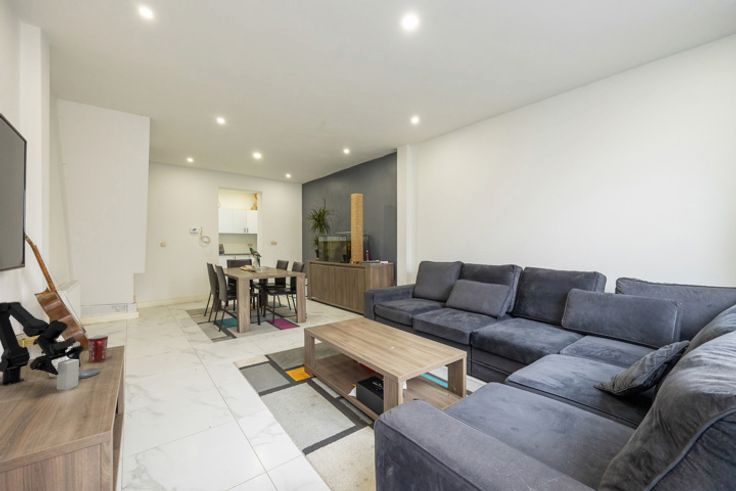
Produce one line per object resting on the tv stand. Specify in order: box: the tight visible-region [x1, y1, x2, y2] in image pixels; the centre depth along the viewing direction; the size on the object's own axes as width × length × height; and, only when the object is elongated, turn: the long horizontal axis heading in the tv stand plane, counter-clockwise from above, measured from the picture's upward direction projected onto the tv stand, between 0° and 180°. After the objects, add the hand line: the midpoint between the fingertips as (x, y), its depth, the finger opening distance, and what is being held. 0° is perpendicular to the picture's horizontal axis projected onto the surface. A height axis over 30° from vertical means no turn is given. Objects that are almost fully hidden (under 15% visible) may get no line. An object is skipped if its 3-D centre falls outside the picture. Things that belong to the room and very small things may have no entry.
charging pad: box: [78, 367, 100, 380], centre depth 154 cm, size 11×11×1 cm
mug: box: [87, 334, 109, 363], centre depth 174 cm, size 13×9×14 cm
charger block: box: [56, 358, 80, 391], centre depth 141 cm, size 5×5×12 cm
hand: (69, 370), depth 141 cm, fingers open, 9 cm apart
